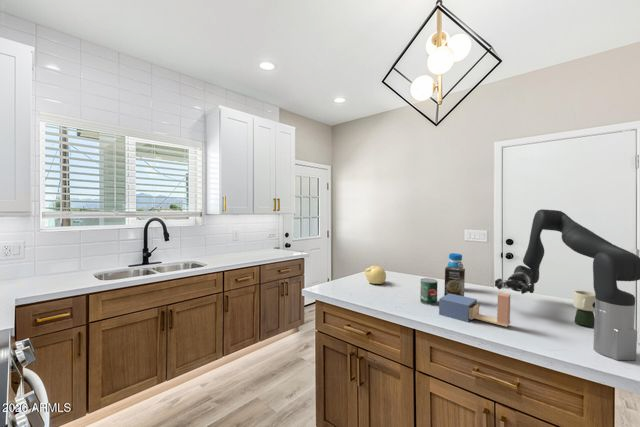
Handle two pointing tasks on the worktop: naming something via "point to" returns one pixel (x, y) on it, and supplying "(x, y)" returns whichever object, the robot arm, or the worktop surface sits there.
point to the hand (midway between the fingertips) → (510, 289)
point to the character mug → (584, 307)
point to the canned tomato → (428, 291)
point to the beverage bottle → (455, 260)
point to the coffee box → (454, 281)
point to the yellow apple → (375, 275)
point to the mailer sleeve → (456, 306)
